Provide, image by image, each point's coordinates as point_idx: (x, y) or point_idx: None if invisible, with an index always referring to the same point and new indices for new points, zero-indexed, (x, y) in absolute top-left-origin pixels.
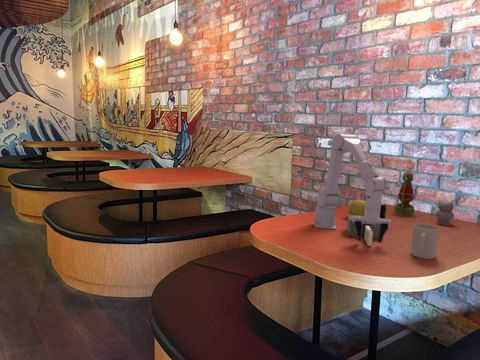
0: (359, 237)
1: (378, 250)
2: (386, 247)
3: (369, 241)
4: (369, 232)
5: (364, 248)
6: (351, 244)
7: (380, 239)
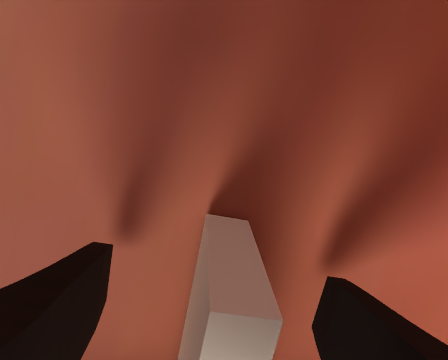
0: (365, 294)
1: (164, 90)
2: (34, 223)
3: (238, 239)
4: (264, 339)
5: (307, 138)
6: (394, 251)
7: (84, 255)
